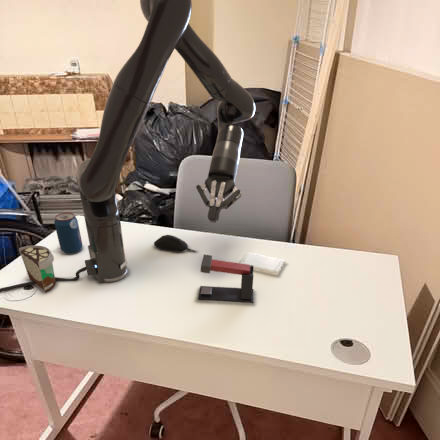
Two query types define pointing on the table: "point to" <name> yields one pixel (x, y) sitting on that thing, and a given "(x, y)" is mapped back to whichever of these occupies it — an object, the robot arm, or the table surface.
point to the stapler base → (230, 291)
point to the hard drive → (263, 263)
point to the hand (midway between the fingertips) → (212, 221)
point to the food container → (39, 266)
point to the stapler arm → (223, 266)
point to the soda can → (68, 233)
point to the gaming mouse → (171, 244)
